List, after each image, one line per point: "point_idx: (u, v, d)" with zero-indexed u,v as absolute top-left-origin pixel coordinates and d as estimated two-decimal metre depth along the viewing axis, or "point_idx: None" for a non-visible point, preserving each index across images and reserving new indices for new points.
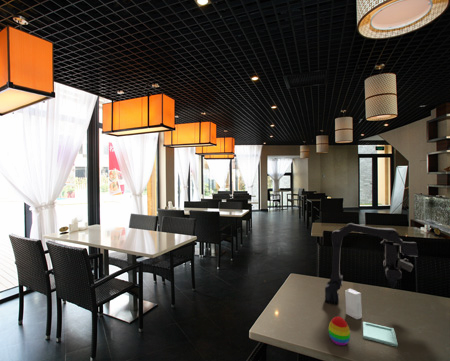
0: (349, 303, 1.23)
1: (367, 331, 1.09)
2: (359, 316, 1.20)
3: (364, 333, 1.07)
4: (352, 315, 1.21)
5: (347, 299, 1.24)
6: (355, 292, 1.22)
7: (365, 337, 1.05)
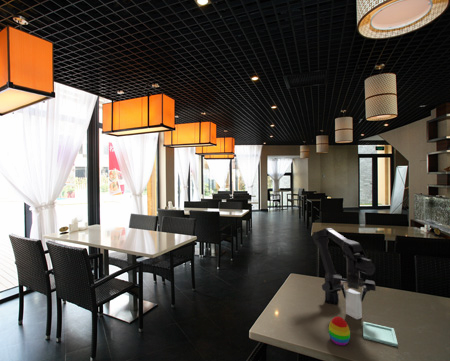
0: (349, 303, 1.23)
1: (367, 331, 1.09)
2: (359, 316, 1.20)
3: (364, 333, 1.07)
4: (352, 315, 1.21)
5: (347, 299, 1.24)
6: (355, 292, 1.22)
7: (365, 337, 1.05)
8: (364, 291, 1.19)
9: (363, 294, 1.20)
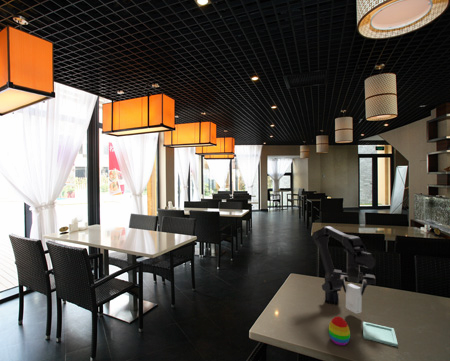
0: (349, 297, 1.23)
1: (367, 331, 1.09)
2: (359, 311, 1.20)
3: (364, 333, 1.07)
4: (352, 309, 1.21)
5: (347, 293, 1.24)
6: (355, 287, 1.22)
7: (365, 337, 1.05)
8: (364, 285, 1.19)
9: (363, 288, 1.20)
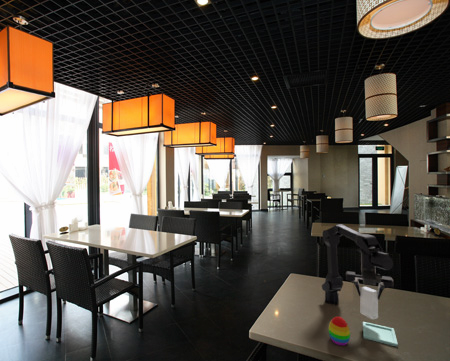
0: (364, 302, 1.13)
1: (367, 331, 1.09)
2: (375, 316, 1.11)
3: (364, 333, 1.07)
4: (367, 315, 1.12)
5: (362, 297, 1.14)
6: (371, 290, 1.12)
7: (365, 337, 1.05)
8: (381, 288, 1.10)
9: (380, 291, 1.10)
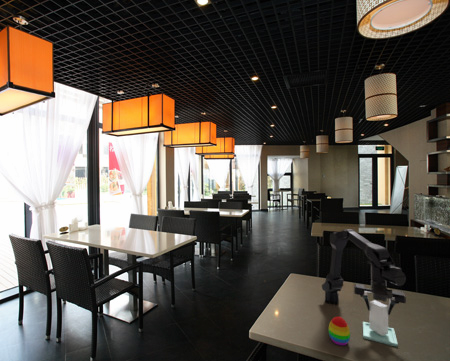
0: (374, 317, 1.08)
1: (367, 331, 1.09)
2: (385, 332, 1.05)
3: (364, 333, 1.07)
4: (377, 330, 1.06)
5: (371, 312, 1.09)
6: (381, 305, 1.07)
7: (365, 337, 1.05)
8: (392, 303, 1.04)
9: (390, 307, 1.05)
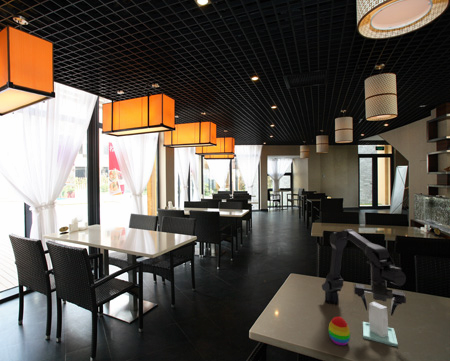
0: (373, 318, 1.08)
1: (367, 331, 1.09)
2: (385, 334, 1.05)
3: (364, 333, 1.07)
4: (377, 332, 1.06)
5: (371, 314, 1.09)
6: (380, 306, 1.07)
7: (365, 337, 1.05)
8: (395, 304, 1.04)
9: (393, 307, 1.04)
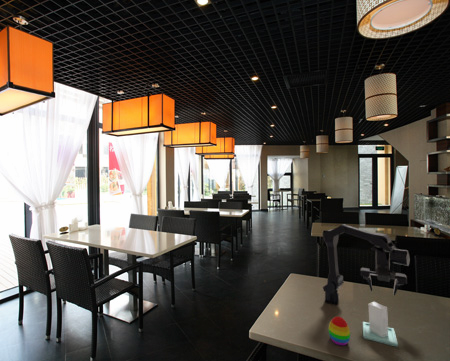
0: (373, 318, 1.08)
1: (367, 331, 1.09)
2: (385, 334, 1.05)
3: (364, 333, 1.07)
4: (377, 332, 1.06)
5: (371, 314, 1.09)
6: (380, 306, 1.07)
7: (365, 337, 1.05)
8: (397, 284, 1.15)
9: (396, 288, 1.16)
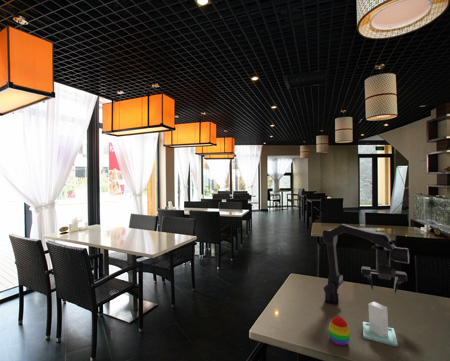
0: (373, 318, 1.08)
1: (367, 331, 1.09)
2: (385, 334, 1.05)
3: (364, 333, 1.07)
4: (377, 332, 1.06)
5: (371, 314, 1.09)
6: (380, 306, 1.07)
7: (365, 337, 1.05)
8: (397, 282, 1.17)
9: (396, 285, 1.18)
